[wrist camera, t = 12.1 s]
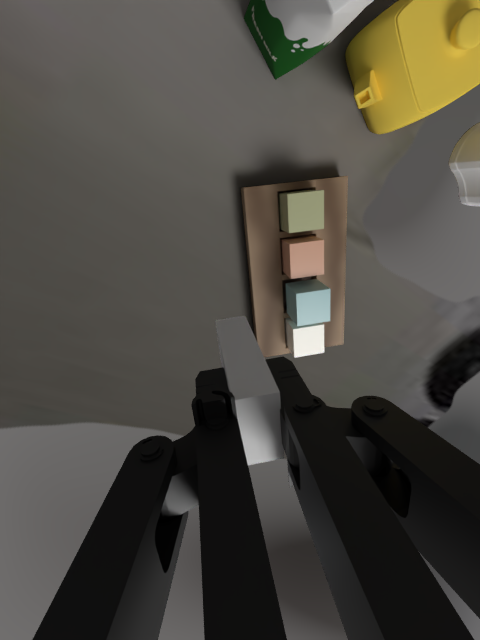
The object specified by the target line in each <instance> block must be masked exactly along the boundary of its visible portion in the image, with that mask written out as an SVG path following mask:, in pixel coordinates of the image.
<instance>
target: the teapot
mask: <svg viewBox="0 0 480 640" xmlns="http://www.w3.org/2000/svg"><path fill="white" fill-rule="evenodd" d="M345 58H346V63H347V67H348V71H349V74H350V78H351V81H352V84H353V88H354V98H355V101H356V104H357V106H358V109H361V111H362V114H363V117H364V120H365V122H366V124H367V127H368V129H369V130H370V131H371V132H372V133H375V134H384V133H388V132H391V131H394V130H396V129H399V128H401V127H404V126H406V125H409V124H411V123H413V122H415V121H417V120H420V119H422V118H424V117H426V116H428V115H430V114H432V113H434V112H435V111H437V110H439V109H441V108H443V107H444V106H446V105H448V104H449V103H451V102H453V101H454V100H456V99H457V98H459V97H460V96H462V95H464V94H465V93H467V92H468V91H470V90H471V89H473V88H474V87H476V86H477V85H479V84H480V0H398V1H397V2H396V3H394V4H393V5H392V6H390V7H389V8H387V9H386V10H385V11H383V12H382V13H381V14H380V15H379V16H377V17H376V18H375V19H374V20H372V21H371V22H370V23H369V24H368V25H367V26H365V27H364V28H363V29H362V30H361V31H360V32H359V33H358V34H357V35H356V36H355V37H354V38H353V39H352V40H351V42H350V43H349V45H348V47H347V50H346V53H345Z"/></svg>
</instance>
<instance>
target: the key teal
mask: <svg viewBox="0 0 480 640" xmlns="http://www.w3.org/2000/svg"><path fill="white" fill-rule="evenodd" d="M286 303H287V314H288V315H289V316H290V318H291V319H292V320H293V321H294V323H295V324H296V325H297V326H302V325H309V324H315V323H321V322H328V321H330V288H329V287H327V286H326V285H324V284H323V283H322V282H320V281H319V280H317V279H312V280H305V281H298V282H291V283H286Z"/></svg>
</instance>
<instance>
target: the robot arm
mask: <svg viewBox="0 0 480 640" xmlns="http://www.w3.org/2000/svg"><path fill="white" fill-rule="evenodd" d="M215 323H216V330H217V337H218V344H219V351H220V358H221V365H222V368H218V369H212V370H206V371H200V373H199V374H198V376H197V377H196V397H195V398H194V399H193V401H192V410H193V416H194V421H195V427H194V428H193V430H192V431H191V432H190V433H188V434H187V435H186V436H184V437H182V438H180V439H178V440H175V441H173V442H172V441H171V440H170V439H169V438H167V437H165V436H151V437H148V438H146V439H143V440H141V441H140V442H138V443H137V444H136V445H135V446H133V448H132V449H131V450H130V452H129V453H128V455H127V457H126V459H125V461H124V463H123V465H122V467H121V469H120V471H119V473H118V475H117V477H116V479H115V481H114V483H113V484H112V486H111V488H110V490H109V492H108V494H107V496H106V498H105V500H104V502H103V504H102V506H101V508H100V510H99V512H98V514H97V516H96V517H95V520H94V521H93V524H92V525H91V527H90V529H89V531H88V533H87V535H86V537H85V539H84V541H83V543H82V545H81V547H80V549H79V551H78V552H77V554H76V556H75V558H74V560H73V562H72V564H71V566H70V568H69V570H68V572H67V574H66V576H65V578H64V580H63V582H62V583H61V586H60V587H59V589H58V591H57V593H56V595H55V597H54V599H53V601H52V603H51V605H50V607H49V609H48V611H47V613H46V615H45V616H44V618H43V621H42V622H41V624H40V627H39V628H38V630H37V632H36V634H35V636H34V638H33V640H158V637H159V633H160V628H161V624H162V620H163V616H164V612H165V608H166V604H167V600H168V596H169V592H170V588H171V583H172V579H173V575H174V571H175V567H176V563H177V558H178V555H179V550H180V547H181V543H182V538H183V534H184V530H185V526H186V522H187V518H188V510H190V509H192V508H194V507H196V506H198V505H199V517H200V541H201V563H202V588H203V609H204V610H203V612H204V635H205V640H287V638H286V634H285V630H284V625H283V620H282V616H281V612H280V607H279V602H278V598H277V594H276V589H275V585H274V580H273V576H272V572H271V567H270V562H269V558H268V553H267V549H266V544H265V540H264V536H263V531H262V527H261V522H260V518H259V513H258V509H257V504H256V500H255V495H254V491H253V487H252V482H251V477H250V473H249V468H248V465H252V464H257V463H262V462H267V461H272V460H277V459H282V458H284V450H285V453H286V456H287V461H288V476H289V477H288V478H289V487H292V482H293V485H294V488H295V491H296V494H297V496H298V499H299V502H300V505H301V508H302V511H303V514H304V516H305V519H306V522H307V525H308V528H309V530H310V533H311V536H312V539H313V542H314V544H315V547H316V550H317V553H318V556H319V558H320V561H321V564H322V567H323V570H324V573H325V576H326V578H327V581H328V584H329V587H330V590H331V592H332V595H333V598H334V601H335V604H336V606H337V609H338V612H339V615H340V618H341V621H342V624H343V626H344V629H345V632H346V635H347V638H348V640H474V639H473V637H472V635H471V634H470V632H469V631H468V629H467V628H466V626H465V625H464V623H463V621H462V620H461V618H460V616H459V615H458V613H457V612H456V610H455V609H454V607H453V605H452V604H451V602H450V601H449V599H448V598H447V596H446V594H445V593H444V591H443V590H442V588H441V586H440V585H439V583H438V582H437V580H436V578H435V577H434V575H433V574H432V572H431V571H430V569H429V567H428V566H427V564H426V563H425V561H424V560H423V558H422V557H421V555H420V553H421V554H422V555H423V557H424V558H425V559H426V560H427V561H428V562H429V563H430V564H431V565H432V567H433V568H434V569H435V570H436V571H437V572H438V573H439V574H440V575H441V577H442V578H444V580H445V581H446V582H447V583H448V584H449V585H450V586H451V588H452V589H453V590H454V591H455V592H456V593H457V594H458V595H459V596H460V598H461V599H462V600H463V601H464V602H465V603H466V604H467V605H468V606H469V607H470V609H471V610H472V611H473V612H474V613H475V614H476V615H477V616H478V617H479V619H480V464H478V463H477V462H475V461H474V460H473V459H471V458H470V457H468V456H467V455H465V454H464V453H463V452H461V451H460V450H458V449H457V448H456V447H454V446H453V445H451V444H450V443H448V442H447V441H446V440H444V439H443V438H441V437H440V436H438V435H437V434H436V433H434V432H433V431H431V430H430V429H429V428H427V427H426V426H424V425H423V424H421V423H420V422H419V421H417V420H416V419H414V418H413V417H411V416H410V415H409V414H407V413H406V412H404V411H403V410H401V409H400V408H399V407H397V406H396V405H394V404H393V403H392V402H390V401H388V400H386V399H384V398H381V397H377V396H363V397H359V398H357V399H356V400H354V402H353V403H352V407H351V409H350V408H334V407H329V406H326V404H325V403H324V402H323V401H322V400H321V399H320V398H318V397H316V396H314V395H312V394H311V393H310V391H309V389H308V388H307V386H306V384H305V383H304V381H303V379H302V378H301V376H300V374H299V373H298V371H297V370H296V368H295V366H294V364H293V363H292V362H291V361H290V360H288V359H287V358H285V357H278V358H272V359H266V360H265V358H264V356H263V354H262V352H261V349H260V347H259V345H258V343H257V341H256V338H255V336H254V334H253V332H252V330H251V327H250V325H249V323H248V321H247V319H246V316H240V317H234V318H227V319H220V320H215ZM418 551H419V552H420V553H419V552H418Z"/></svg>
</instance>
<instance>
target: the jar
mask: <svg viewBox="0 0 480 640" xmlns="http://www.w3.org/2000/svg"><path fill="white" fill-rule="evenodd" d="M449 167H450V170H451V171H452V172H453V174H454V175H455V178H456V180H457V183H458V189H459V199H460V202H461V203H463V204H465V205H469V206H480V122H479V123H477V124H475V125H474V126H473V127H471V128H470V129H469V130H468V131H466V132H465V133H464V135H463V136H462V137H461V138H460V140H459V141H458V142H457V144H456V146H455V147H454V149H453V151H452V154H451V156H450V159H449Z"/></svg>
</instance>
